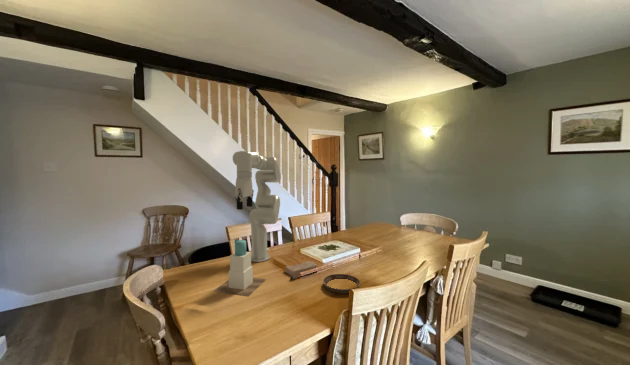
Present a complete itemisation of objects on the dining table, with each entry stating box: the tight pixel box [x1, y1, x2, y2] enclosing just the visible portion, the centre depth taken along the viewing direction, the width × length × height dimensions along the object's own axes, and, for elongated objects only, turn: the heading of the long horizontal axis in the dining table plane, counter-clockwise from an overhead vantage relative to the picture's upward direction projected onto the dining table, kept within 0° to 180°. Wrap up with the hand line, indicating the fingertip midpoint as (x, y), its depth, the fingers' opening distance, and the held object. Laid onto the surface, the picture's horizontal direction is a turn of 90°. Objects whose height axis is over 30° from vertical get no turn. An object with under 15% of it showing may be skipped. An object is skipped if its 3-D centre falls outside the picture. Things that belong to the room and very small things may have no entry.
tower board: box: [213, 276, 267, 298], centre depth 123 cm, size 18×18×2 cm
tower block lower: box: [228, 265, 254, 290], centre depth 122 cm, size 8×8×8 cm
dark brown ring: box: [322, 273, 361, 294], centre depth 124 cm, size 18×18×3 cm
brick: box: [284, 260, 318, 280], centre depth 140 cm, size 17×8×5 cm, turn 127°
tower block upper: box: [229, 251, 252, 272], centre depth 122 cm, size 7×7×7 cm
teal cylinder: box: [234, 239, 247, 256], centre depth 122 cm, size 5×5×6 cm
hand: (244, 207), depth 134 cm, fingers open, 9 cm apart
